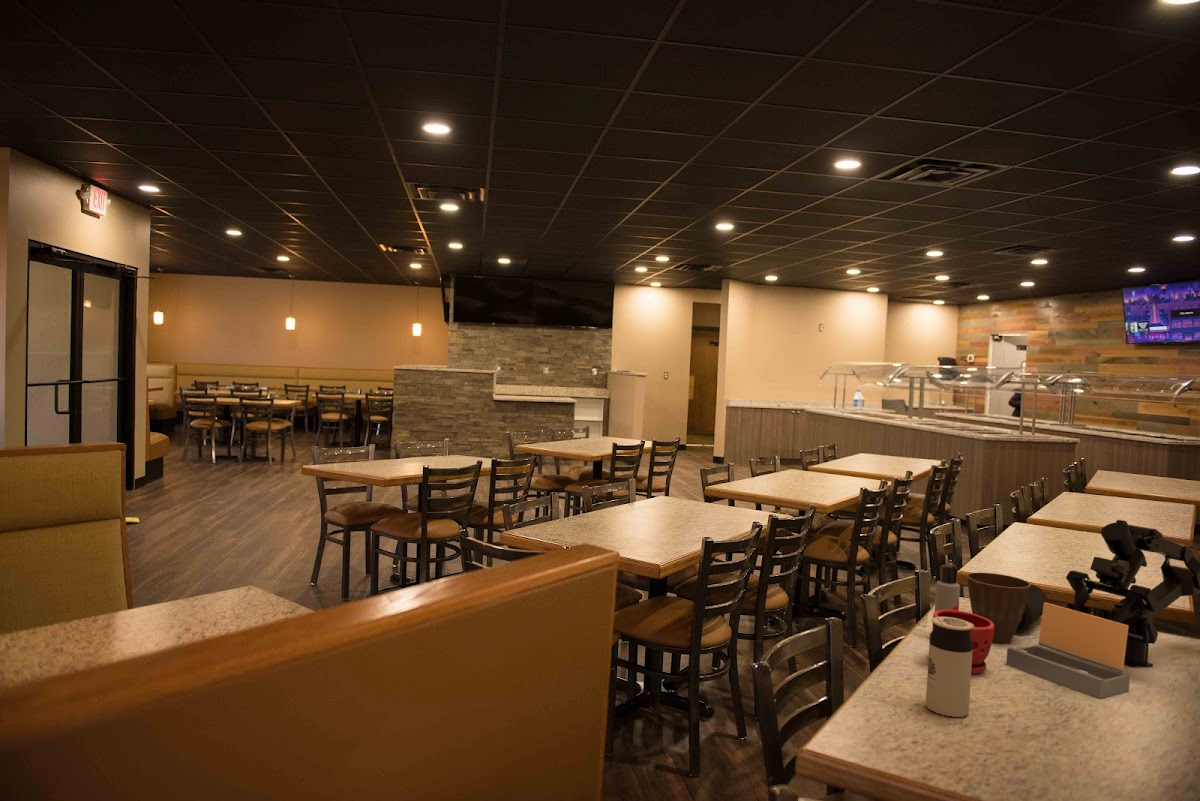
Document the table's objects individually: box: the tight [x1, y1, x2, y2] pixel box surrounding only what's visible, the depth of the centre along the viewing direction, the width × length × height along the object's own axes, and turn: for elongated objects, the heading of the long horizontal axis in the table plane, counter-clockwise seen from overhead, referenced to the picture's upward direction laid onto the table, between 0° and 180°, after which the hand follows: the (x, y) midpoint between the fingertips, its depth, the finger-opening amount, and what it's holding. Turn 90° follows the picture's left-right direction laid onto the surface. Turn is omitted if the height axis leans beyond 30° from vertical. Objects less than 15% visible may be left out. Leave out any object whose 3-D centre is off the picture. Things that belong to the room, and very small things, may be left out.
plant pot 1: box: [931, 610, 994, 675], centre depth 183 cm, size 13×13×12 cm
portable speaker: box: [1015, 583, 1049, 634], centre depth 222 cm, size 26×10×10 cm, turn 139°
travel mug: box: [925, 617, 974, 718], centre depth 158 cm, size 8×8×18 cm
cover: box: [1037, 602, 1129, 673], centre depth 183 cm, size 10×19×1 cm
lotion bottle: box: [933, 563, 961, 614], centre depth 203 cm, size 6×6×20 cm
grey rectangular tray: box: [1005, 644, 1131, 699], centre depth 180 cm, size 11×22×5 cm, turn 28°
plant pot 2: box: [967, 572, 1032, 645], centre depth 206 cm, size 15×15×16 cm
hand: (1094, 617), depth 185 cm, fingers open, 9 cm apart
